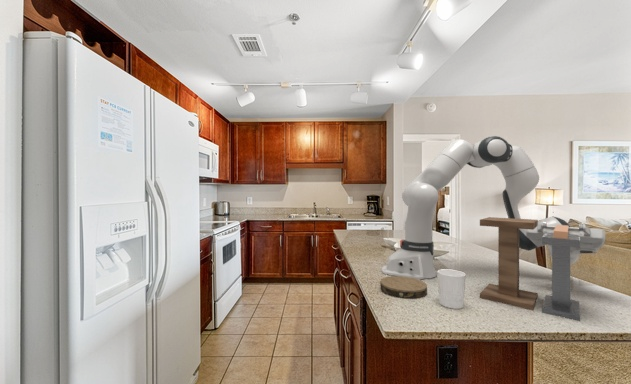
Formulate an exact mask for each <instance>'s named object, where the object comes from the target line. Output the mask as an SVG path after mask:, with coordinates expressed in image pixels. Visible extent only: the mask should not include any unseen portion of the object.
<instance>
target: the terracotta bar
mask: <svg viewBox="0 0 631 384" xmlns="http://www.w3.org/2000/svg"><path fill="white" fill-rule="evenodd" d="M569 226H570V225H569ZM569 226H568V225H556V227H555V229H554V231H553V238H561V239H568V232H569Z"/></svg>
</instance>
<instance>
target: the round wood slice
mask: <svg viewBox="0 0 631 384" xmlns="http://www.w3.org/2000/svg"><path fill="white" fill-rule="evenodd" d="M379 284H380V292H382V293H384V294H385V295H387V296H390V297H393V298H398V299H403V300H405V299H406V300H415V299H416V300H417V299H422V298H425V297H426V296H427V295H428V284H427V283H426V282H425V281H423V280H422V279H420V280H418V279H415V278H410V277H402V276H394V275H391V276H387V277H383V278H382V279H380V283H379Z"/></svg>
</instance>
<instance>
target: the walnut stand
mask: <svg viewBox="0 0 631 384" xmlns="http://www.w3.org/2000/svg"><path fill="white" fill-rule="evenodd" d="M538 221H539V220H538V219H531V218H529V219H528V218H521V219H513V218H508V217H507V218H506V217H490V216H489V217H485V218H481V219H479V226H480V227H492V228H498V231H497V232H498V237H497V238H498V242H497V243H498V245H497V246H498V257H497V258H498V276H497V277H498V284H494V283H493V284H492V283H488V284H487V285H486V286H485V287H484V288H483V290H481V291H480V292H479V299H482V300H487V301H492V302H496V303H500V304H504V305H509V306H512V307H516V308H521V309H525V310H530V311H534V309H535V307H536V304H537V301H538V298H539V296H538V295H539V294H538V292H535V291H534V292H533V291H529V290H525V289H520V248H519V229H532V230H533V229H535V228H536V227H537V226H538Z"/></svg>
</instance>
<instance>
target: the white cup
mask: <svg viewBox="0 0 631 384" xmlns="http://www.w3.org/2000/svg"><path fill="white" fill-rule="evenodd" d="M436 273H437V287H438V289H437V290H438V301H439V303H438V304H440V305H441V306H443V307H445V308H449V309H455V310H457V309H458V310H460V309H462V308H463V309H464V302H465V301H464V299H465V294H466V293H465V289H466V276H467V274H466V273H465V272H463V271H460V270H456V269H450V268H449V269H447V268H444V269H443V268H442V269H438V270H437V272H436Z"/></svg>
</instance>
